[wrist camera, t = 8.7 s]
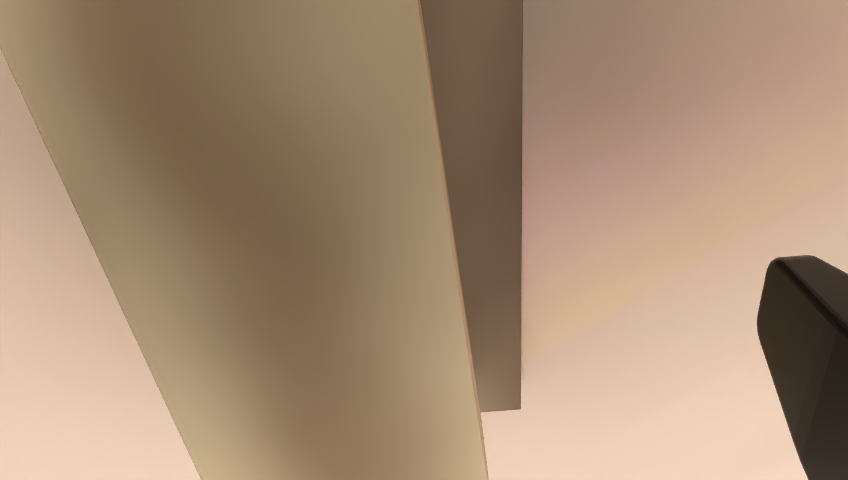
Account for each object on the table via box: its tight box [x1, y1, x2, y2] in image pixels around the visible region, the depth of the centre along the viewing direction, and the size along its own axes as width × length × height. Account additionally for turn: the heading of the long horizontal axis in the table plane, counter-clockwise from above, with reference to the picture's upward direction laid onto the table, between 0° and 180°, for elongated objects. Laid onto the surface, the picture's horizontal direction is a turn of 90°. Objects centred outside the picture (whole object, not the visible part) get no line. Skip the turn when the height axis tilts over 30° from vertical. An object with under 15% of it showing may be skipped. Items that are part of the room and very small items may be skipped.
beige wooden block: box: [0, 0, 489, 480], centre depth 16 cm, size 6×16×4 cm, turn 8°
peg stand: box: [420, 0, 523, 412], centre depth 19 cm, size 10×19×3 cm, turn 4°
